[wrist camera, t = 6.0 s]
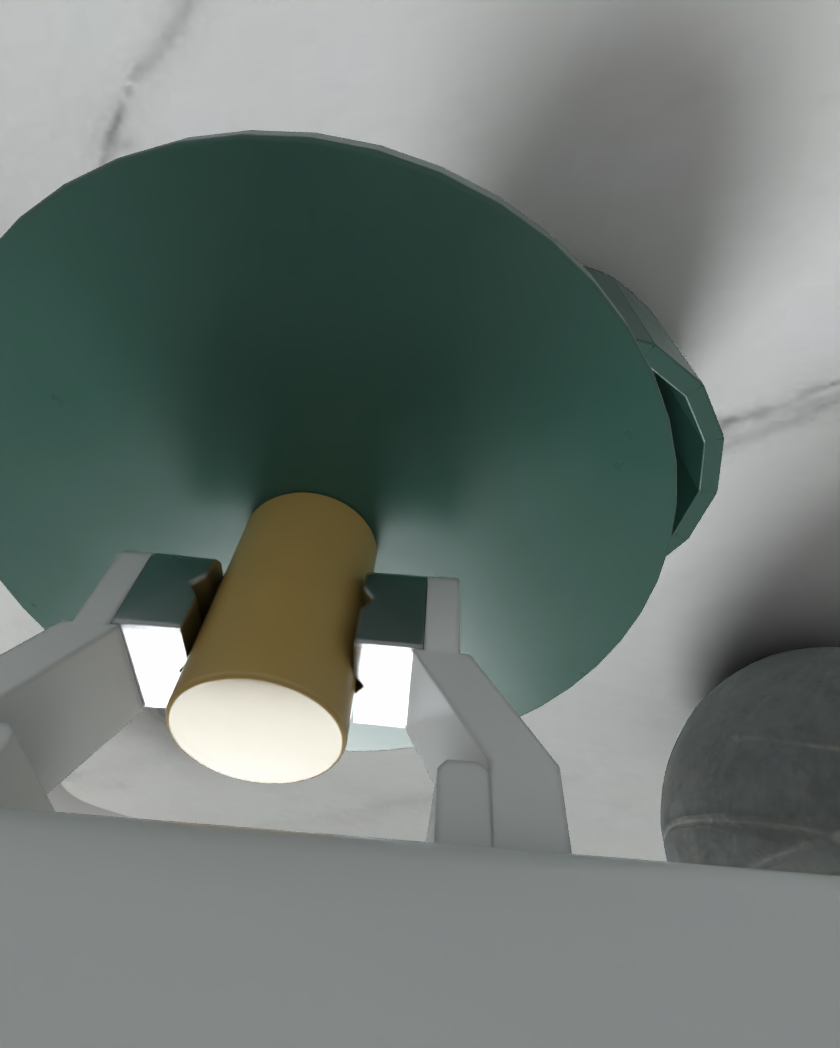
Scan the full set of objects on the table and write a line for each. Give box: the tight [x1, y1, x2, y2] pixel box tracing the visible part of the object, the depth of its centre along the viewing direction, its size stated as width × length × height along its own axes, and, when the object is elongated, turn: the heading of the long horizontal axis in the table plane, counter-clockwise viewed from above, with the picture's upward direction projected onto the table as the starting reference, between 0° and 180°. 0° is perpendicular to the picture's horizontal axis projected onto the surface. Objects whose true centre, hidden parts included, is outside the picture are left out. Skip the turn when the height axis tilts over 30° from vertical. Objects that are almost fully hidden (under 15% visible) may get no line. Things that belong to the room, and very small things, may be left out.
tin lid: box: [0, 130, 677, 784], centre depth 10 cm, size 13×13×5 cm
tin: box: [583, 266, 724, 556], centre depth 28 cm, size 12×12×8 cm
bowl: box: [661, 647, 840, 876], centre depth 37 cm, size 21×21×15 cm
